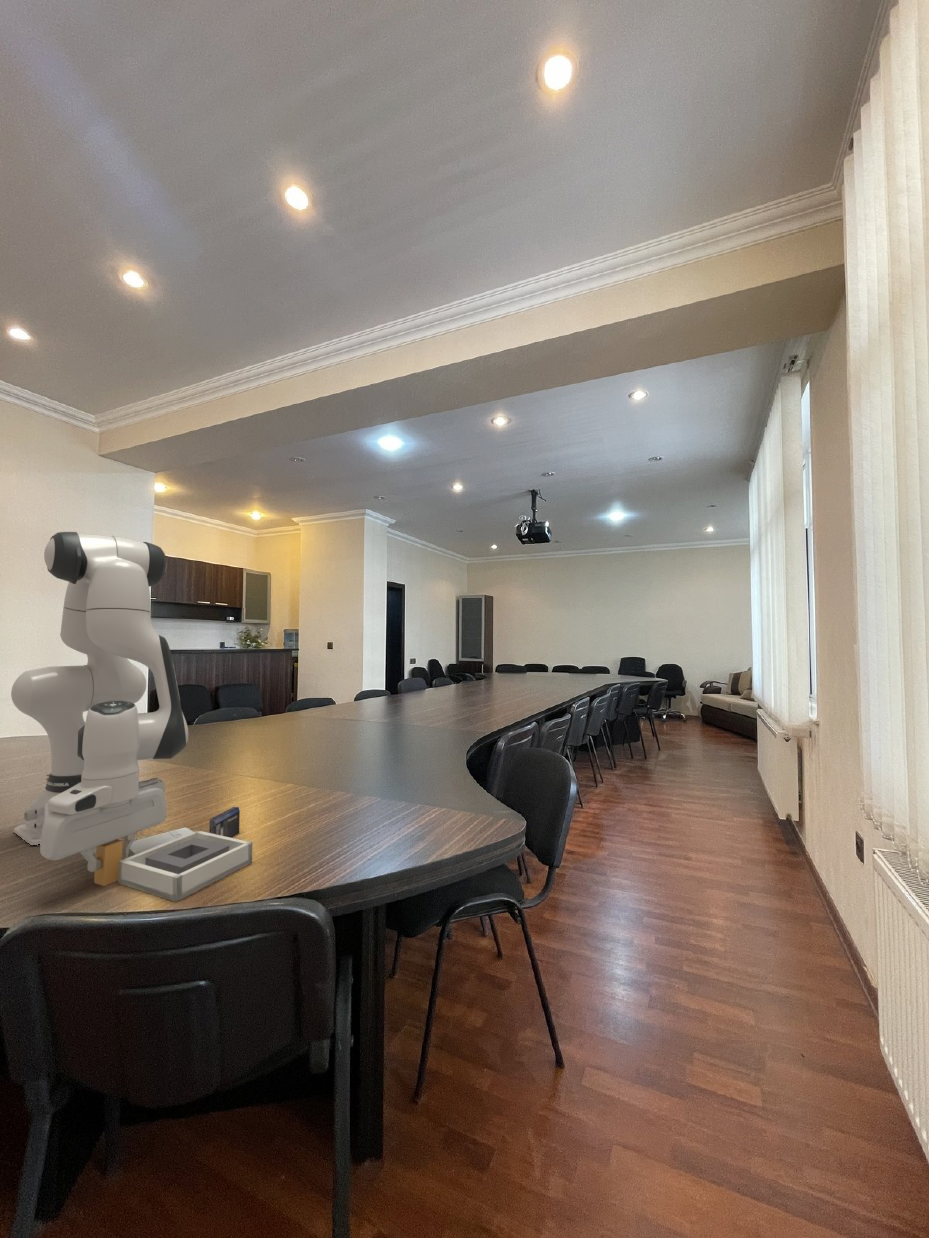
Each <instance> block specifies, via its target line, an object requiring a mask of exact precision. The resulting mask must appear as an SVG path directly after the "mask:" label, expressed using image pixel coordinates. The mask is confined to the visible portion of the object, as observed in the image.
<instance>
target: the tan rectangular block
mask: <svg viewBox="0 0 929 1238" xmlns="http://www.w3.org/2000/svg"><path fill="white" fill-rule="evenodd" d="M122 843H123V839H116V840H113V841H110V842H108V843H105V844H102V845H99V846H96V852H95V853H94V856H95V858H99V859H102V864H101V865H102V868H101V869H98V870H96V871H94V884H97V885H100V886H103V887H106V886H107V885H110V884H112V883H115V882H118V867H119V861H121V860H122Z"/></svg>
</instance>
